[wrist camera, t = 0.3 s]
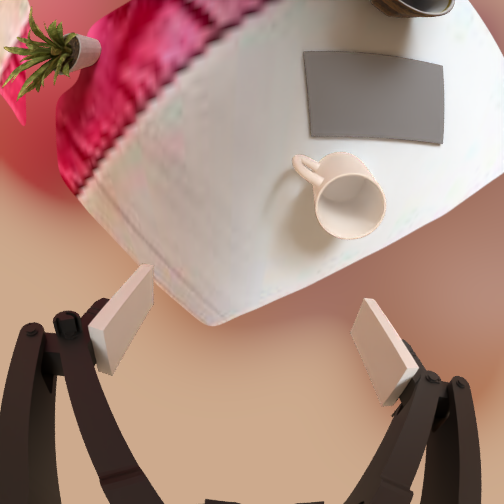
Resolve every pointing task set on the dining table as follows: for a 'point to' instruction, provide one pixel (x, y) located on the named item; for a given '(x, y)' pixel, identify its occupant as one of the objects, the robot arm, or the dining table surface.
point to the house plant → (54, 54)
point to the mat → (374, 96)
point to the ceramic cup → (414, 7)
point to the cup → (343, 194)
